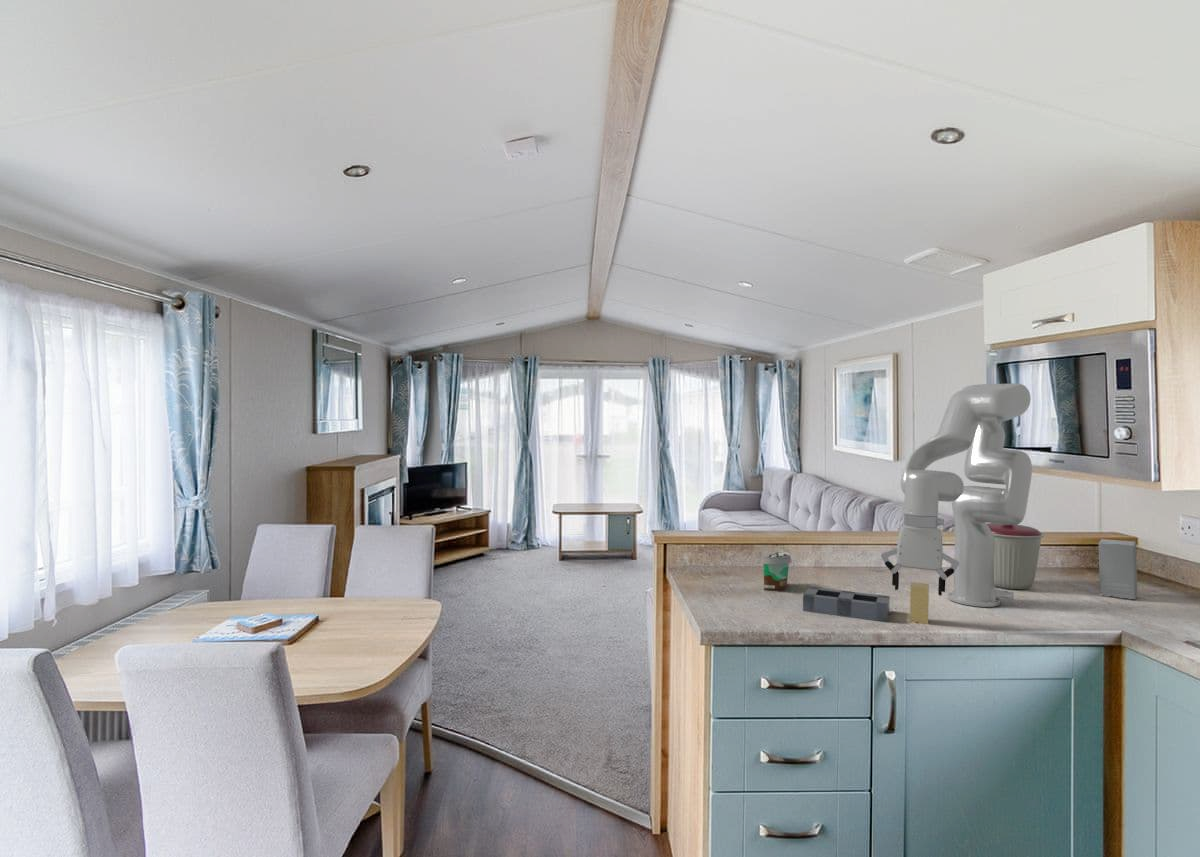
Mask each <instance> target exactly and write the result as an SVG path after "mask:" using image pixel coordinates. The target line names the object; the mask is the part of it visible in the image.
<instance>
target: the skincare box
mask: <svg viewBox="0 0 1200 857" xmlns="http://www.w3.org/2000/svg"><path fill="white" fill-rule="evenodd" d="M1137 553H1138V552H1137V541H1133V540H1131V541H1130V540H1116V539H1105V538H1101V539H1100V541H1099V542H1098V561H1099V562H1098V569H1099V570H1098V571H1099V572H1098V573H1099V580H1098V581H1099V595H1100V594H1102V595H1109V596H1116V597H1122V598H1121V599H1123V598H1130V599H1135V600H1137V597H1138V568H1137V567H1138V565H1137V564H1138V563H1137V561H1138V560H1137ZM1130 599H1129V600H1130Z"/></svg>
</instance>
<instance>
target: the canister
mask: <svg viewBox="0 0 1200 857" xmlns="http://www.w3.org/2000/svg"><path fill="white" fill-rule="evenodd" d="M986 524H987V525H988V527H989V528H990V530H991V531H992V533H993V536H994V539H995V552H994V585H995V588H999V589H1000V588H1001V589H1007V590H1025V589H1029V588H1031V586H1033V584H1034V582H1035V579H1036V574H1037V567H1038V562H1039V557H1040V556H1039V555H1040V549H1041V541H1042V538H1043V537H1044V536H1045V534H1044V533H1043V532H1042V531H1040V530H1038V529H1037V528H1035V527H1031V526H1027V525H1021V524H1017V525H1004V524H996V523H986Z"/></svg>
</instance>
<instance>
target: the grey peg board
mask: <svg viewBox="0 0 1200 857" xmlns="http://www.w3.org/2000/svg"><path fill="white" fill-rule="evenodd" d="M890 599H891V598H890V595H882V594H873V593H865V592H860V591H859V592H857V591H848V590H839V589H834V588H832V589H831V588H824V587H823V588H822V587H815V586H809V587H808V588H807V590H806V591H805V592H804V593H803V595H802V611H803V612H810V613H818V614H823V615H824V614H825V615H831V616H838V617H845V618H846V617H847V618H854V619H861V620H869V621H873V622H874V621H875V622H883V623H888V619H889V615H890V606H891V605H890Z"/></svg>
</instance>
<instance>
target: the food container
mask: <svg viewBox="0 0 1200 857" xmlns="http://www.w3.org/2000/svg"><path fill="white" fill-rule="evenodd" d="M790 563H792V558H791V555H790V553H789V552H787V551H784V550H778V549H775V553H773V554H769V555H768V556H763V558H762V564H763V590H764V591H766V590H767V591H766V592H779V591H780V592H781V591H785V590H787V586H788V575H789V566H790Z"/></svg>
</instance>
